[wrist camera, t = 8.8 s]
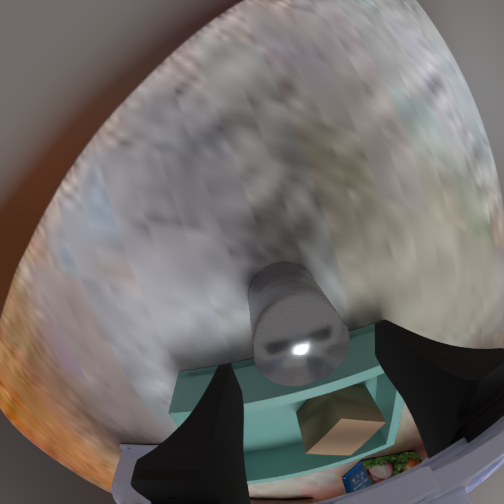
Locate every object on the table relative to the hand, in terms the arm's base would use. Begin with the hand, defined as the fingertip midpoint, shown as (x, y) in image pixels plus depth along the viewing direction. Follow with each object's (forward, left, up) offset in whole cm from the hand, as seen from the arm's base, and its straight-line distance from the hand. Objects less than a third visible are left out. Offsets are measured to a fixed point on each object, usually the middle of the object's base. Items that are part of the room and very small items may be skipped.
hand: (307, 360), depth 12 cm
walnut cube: (+2, -12, -7) cm, 14 cm away
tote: (-1, -12, -8) cm, 14 cm away
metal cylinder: (0, 0, -8) cm, 8 cm away
